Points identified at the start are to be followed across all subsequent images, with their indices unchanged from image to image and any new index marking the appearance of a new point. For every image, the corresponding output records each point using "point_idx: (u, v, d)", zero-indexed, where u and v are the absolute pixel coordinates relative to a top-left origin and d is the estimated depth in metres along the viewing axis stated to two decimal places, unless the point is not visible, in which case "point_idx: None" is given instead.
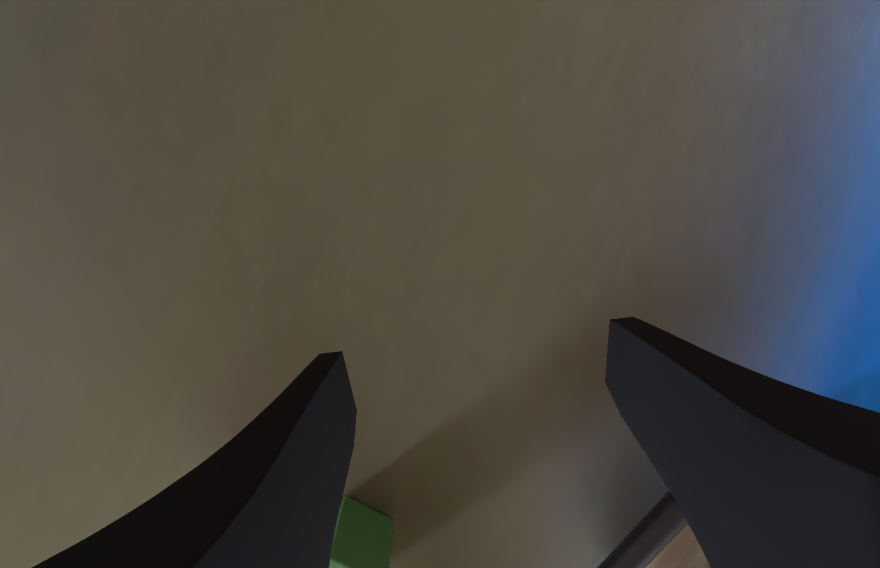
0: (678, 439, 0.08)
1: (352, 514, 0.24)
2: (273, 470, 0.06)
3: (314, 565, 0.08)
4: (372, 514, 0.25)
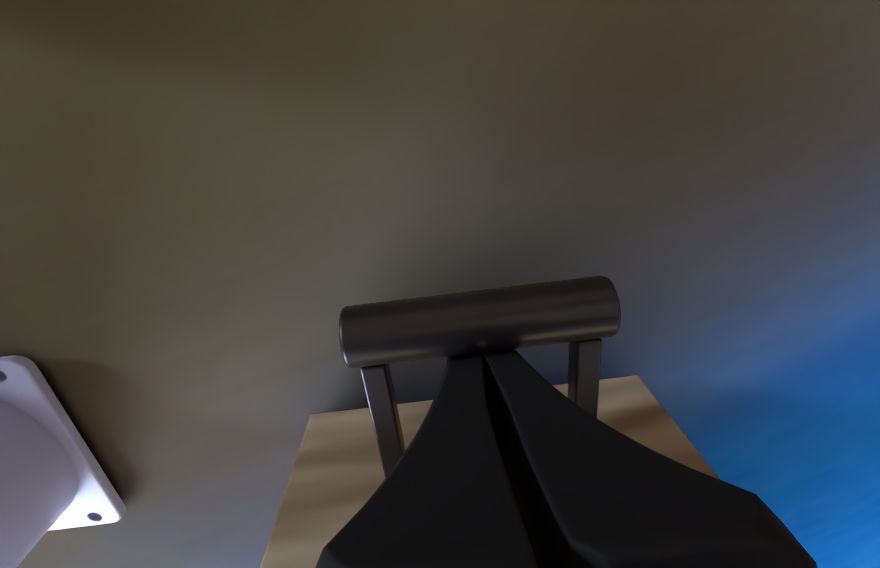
0: (507, 459, 0.08)
1: None
2: (496, 443, 0.06)
3: None
4: None
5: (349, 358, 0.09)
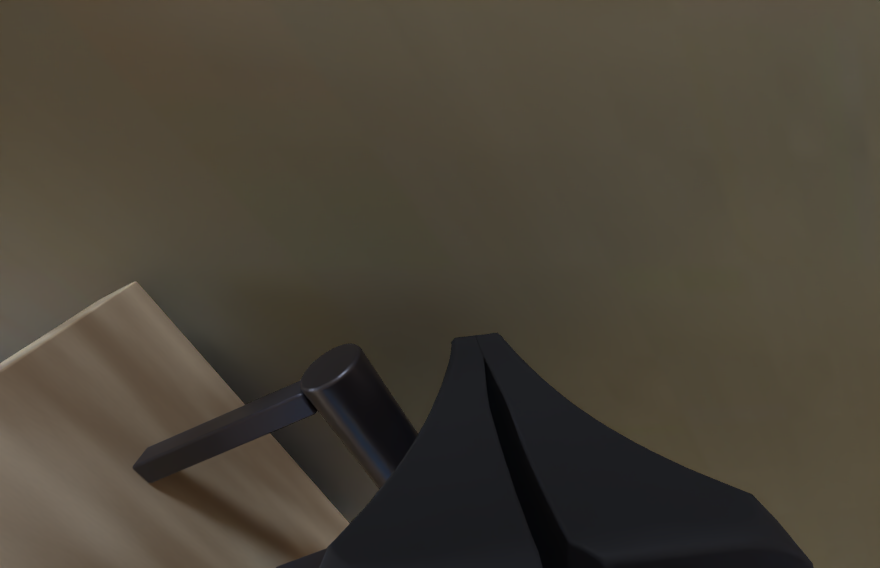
0: (505, 459, 0.08)
1: None
2: (498, 443, 0.06)
3: None
4: None
5: (320, 394, 0.08)
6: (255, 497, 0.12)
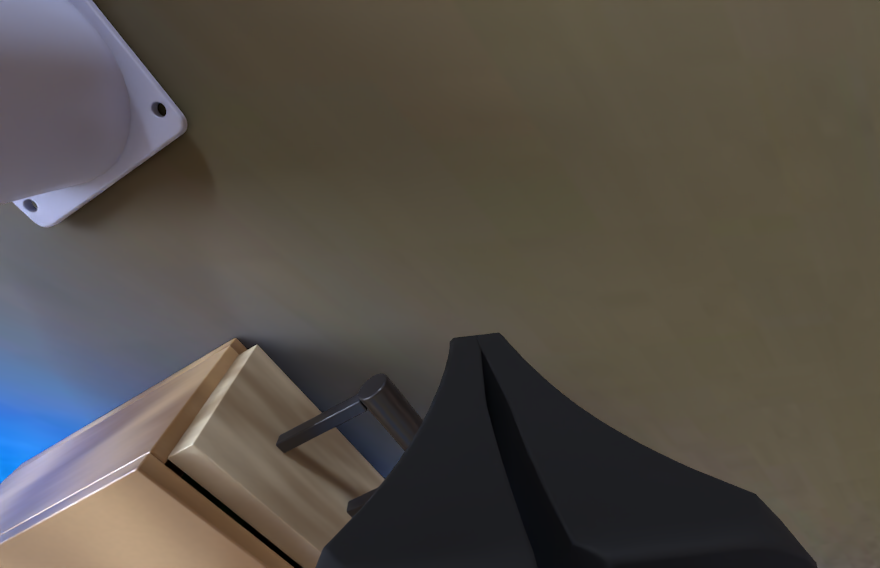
0: (507, 459, 0.08)
1: None
2: (495, 443, 0.06)
3: None
4: None
5: (369, 400, 0.16)
6: (332, 463, 0.20)
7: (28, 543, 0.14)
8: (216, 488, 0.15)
